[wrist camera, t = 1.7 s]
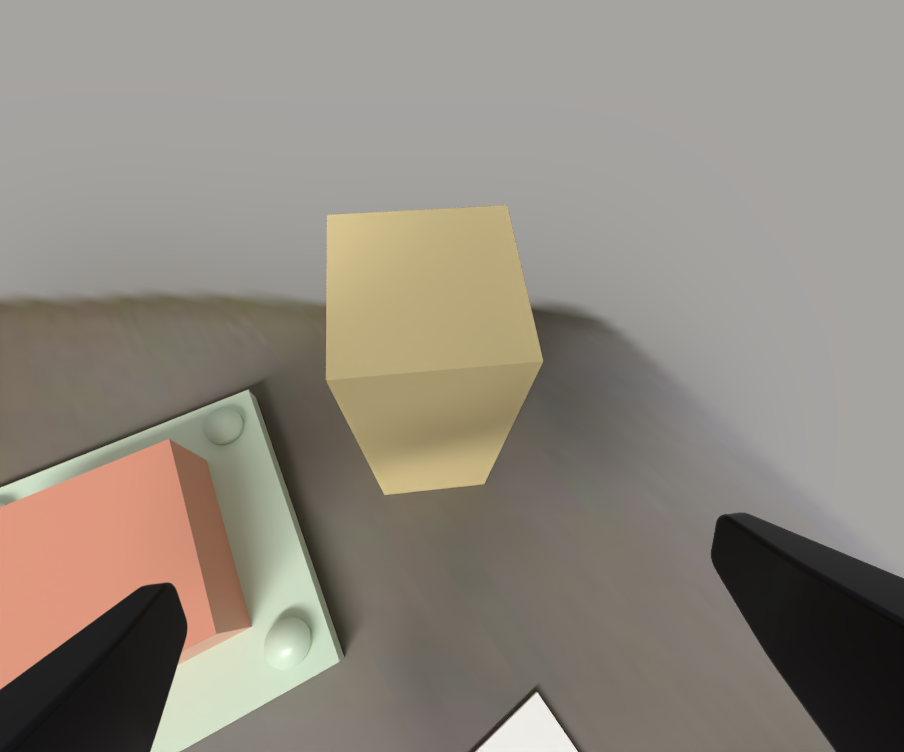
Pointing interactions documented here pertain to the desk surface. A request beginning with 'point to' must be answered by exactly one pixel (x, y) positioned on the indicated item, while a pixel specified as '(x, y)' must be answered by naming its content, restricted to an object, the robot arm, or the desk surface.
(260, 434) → the baseplate
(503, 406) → the tall brick
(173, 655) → the robot arm
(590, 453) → the desk surface
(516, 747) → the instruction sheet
